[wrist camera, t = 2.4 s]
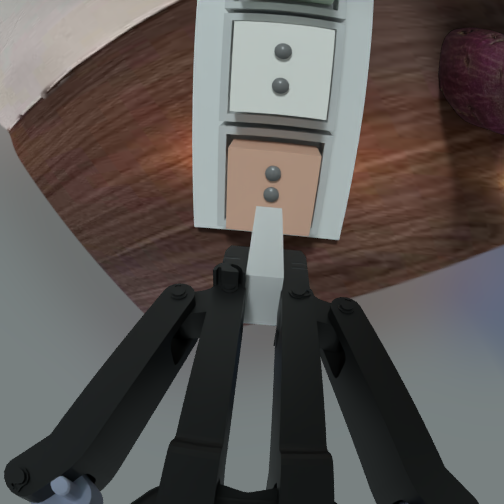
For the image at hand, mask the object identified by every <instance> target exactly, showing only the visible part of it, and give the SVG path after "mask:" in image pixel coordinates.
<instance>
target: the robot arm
mask: <svg viewBox="0 0 504 504" xmlns="http://www.w3.org/2000/svg"><path fill="white" fill-rule="evenodd" d="M243 323H249V324H260V325H271V326H276V324H277V328H276V334H275V340H274V346H275V360H274V385H273V408H272V427H271V445H270V446H271V447H270V462H269V474H268V480H267V487H266V490H262V491H256V492H249V493H247V492H242V491H239V490H236V489H233V488H230V487H227V486H224V473H225V464H226V456H227V449H228V441H229V433H230V426H231V418H232V410H233V402H234V395H235V387H236V379H237V372H238V364H239V356H240V348H241V340H242V332H243ZM198 338H200V339H199V343H198V347H197V350H196V355H195V359H194V362H193V366H192V370H191V375H190V378H189V383H188V386H187V391H186V395H185V399H184V403H183V407H182V412H181V416H180V420H179V424H178V428H177V433H176V436H175V438H174V439H173V440H172V441H171V442H170V444H169V448H168V451H167V455H166V459H165V463H164V468H163V472H162V477H161V481H160V486H158V487H155V488H153V489H151V490H149V491H148V492H146V493H145V494H144V495H142V496H141V497H139V498H138V499H136V500H135V501H134V502H132V503H131V504H337V503H336V502H334V473H333V460H332V456H331V454H330V453H329V452H328V450H327V446H326V427H325V410H324V397H323V383H322V370H321V360H320V357H321V359H322V362H323V364H324V367H325V369H326V372H327V374H328V377H329V380H330V382H331V385H332V387H333V390H334V392H335V395H336V398H337V400H338V403H339V406H340V408H341V411H342V413H343V416H344V419H345V421H346V424H347V427H348V429H349V432H350V435H351V437H352V440H353V443H354V445H355V448H356V451H357V454H358V456H359V459H360V462H361V464H362V467H363V470H364V473H365V475H366V478H367V481H368V484H369V487H370V489H371V492H372V494H373V497H374V499H375V501H376V503H377V504H479V503H478V502H477V500H476V499H475V498H474V496H473V495H472V494H471V493H470V492H469V491H468V490H467V489H465V487H464V486H463V485H462V484H461V483H460V482H459V481H458V480H457V479H456V478H455V477H454V476H453V475H452V474H451V473H450V472H449V471H448V470H447V469H446V468H445V467H444V464H443V462H442V460H441V458H440V456H439V453H438V451H437V449H436V447H435V445H434V443H433V440H432V438H431V436H430V434H429V432H428V430H427V428H426V426H425V424H424V422H423V420H422V418H421V416H420V414H419V412H418V410H417V408H416V406H415V404H414V402H413V400H412V398H411V396H410V395H409V393H408V390H407V389H406V387H405V385H404V383H403V381H402V380H401V377H400V376H399V374H398V372H397V370H396V368H395V366H394V364H393V363H392V361H391V359H390V357H389V356H388V354H387V352H386V350H385V348H384V346H383V345H382V343H381V341H380V339H379V338H378V336H377V334H376V332H375V331H374V329H373V327H372V325H371V324H370V322H369V320H368V319H367V317H366V315H365V314H364V312H363V310H362V309H361V307H360V305H359V304H358V303H357V302H355V301H354V300H352V299H349V298H346V297H340V298H336V299H334V300H333V301H332V303H329V302H325V301H323V300H320V299H318V298H317V297H315V296H314V294H313V292H312V290H311V289H310V287H309V279H308V270H307V262H306V257H305V255H304V254H303V253H302V252H301V251H296V250H285V249H283V218H282V208H273V207H261V206H256V211H255V218H254V224H253V231H252V237H251V244H250V247H244V246H233V245H231V246H230V247H229V248H228V249H227V250H226V252H225V256H224V259H223V263H220V264H218V265H217V266H215V268H214V269H213V287H212V288H210V289H208V290H204V291H197V292H194V289H193V288H192V287H191V286H189V285H187V284H174V285H171V286H169V287H168V288H166V289H165V290H164V291H163V292H162V294H161V295H160V296H159V297H158V298H157V300H156V301H155V302H154V303H153V304H152V306H151V307H150V308H149V309H148V310H147V312H146V313H145V314H144V315H143V316H142V318H141V319H140V320H139V321H138V322H137V324H136V325H135V326H134V327H133V329H132V330H131V331H130V332H129V333H128V335H127V336H126V338H124V340H123V341H122V342H121V343H120V345H119V346H118V347H117V348H116V350H115V351H114V352H113V353H112V355H111V356H110V357H109V358H108V360H107V361H106V362H105V363H104V365H103V366H102V367H101V369H100V370H99V371H98V372H97V374H96V375H95V376H94V378H93V379H92V380H91V381H90V383H89V384H88V385H87V386H86V388H85V389H84V390H83V392H82V393H81V394H80V396H79V397H78V398H77V399H76V401H75V402H74V404H73V405H72V406H71V408H70V409H69V410H68V412H67V413H66V414H65V415H64V417H63V418H62V419H61V421H60V422H59V424H58V425H57V426H56V428H55V429H54V430H53V432H52V433H51V434H50V435H49V436H47V437H46V438H44V439H43V440H41V441H40V442H38V443H37V444H35V445H34V446H32V447H31V448H29V449H28V450H26V451H25V452H23V453H22V454H20V455H19V456H17V457H15V458H14V459H12V460H11V461H10V462H9V463H8V464H7V466H6V468H5V471H4V479H5V482H6V485H7V486H8V488H9V489H10V490H11V492H13V493H14V494H16V495H18V496H19V497H21V498H24V499H25V500H28V501H29V502H31V503H32V504H103V497H102V494H101V492H100V491H101V490H102V489H103V488H104V487H105V486H106V485H107V484H108V483H109V482H110V481H111V480H112V478H113V477H114V476H115V474H116V473H117V471H118V470H119V468H120V467H121V465H122V463H123V462H124V460H125V458H126V457H127V455H128V454H129V452H130V450H131V449H132V447H133V445H134V444H135V442H136V441H137V439H138V437H139V436H140V434H141V432H142V431H143V429H144V427H145V426H146V424H147V422H148V421H149V419H150V418H151V416H152V414H153V413H154V411H155V409H156V408H157V406H158V404H159V403H160V401H161V400H162V398H163V396H164V394H165V393H166V391H167V390H168V388H169V386H170V385H171V383H172V382H173V380H174V378H175V377H176V375H177V373H178V372H179V370H180V368H181V367H182V365H183V363H184V362H185V360H186V359H187V357H188V355H189V354H190V352H191V350H192V349H193V347H194V346H195V344H196V342H197V340H198Z"/></svg>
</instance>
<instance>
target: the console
mask: <svg viewBox="0 0 504 504" xmlns="http://www.w3.org/2000/svg"><path fill="white" fill-rule="evenodd" d="M373 2H374V0H334V2H333V3H332V4H331V5H330V6H329V5H323V4H316V3H309V2H301V1H292V0H197V13H196V28H195V47H194V72H193V124H192V150H193V203H194V227H204V228H216V229H226V206H227V167H228V147H229V146H230V144H231V143H232V141H233V140H234V139H246V140H260V141H272V142H283V143H293V144H302V145H310V146H317V148H318V150H319V152H320V154H321V156H322V157H321V164H320V171H319V177H318V184H317V190H316V197H315V203H314V209H313V215H312V221H311V227H310V233H309V236H304V237H314V238H324V239H334V240H339V238H340V233H341V229H342V224H343V220H344V215H345V211H346V206H347V201H348V196H349V191H350V186H351V181H352V176H353V170H354V165H355V159H356V153H357V148H358V142H359V135H360V129H361V122H362V116H363V108H364V101H365V93H366V85H367V77H368V68H369V58H370V47H371V35H372V20H373ZM234 21H252V22H271V23H284V24H294V25H303V26H311V27H318V28H324V29H330V30H335V40H334V52H333V63H332V73H331V83H330V93H329V102H328V110H327V118H326V120H322V119H314V118H307V117H298V116H289V115H279V114H267V113H253V112H236V111H230V90H231V70H232V52H233V36H234ZM227 230H234V229H227ZM239 231H246V230H239ZM250 232H252V231H250ZM283 235H289V234H283ZM294 236H299V235H294Z"/></svg>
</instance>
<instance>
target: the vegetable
mask: <svg viewBox="0 0 504 504" xmlns="http://www.w3.org/2000/svg"><path fill="white" fill-rule="evenodd" d="M438 74H439V79H440V89H441V90H442V91H443V95H444V96H445V98H446V100H447V101H448V102H449V104H450V105H451V106H452V108H453V109H454V110H455V111H456V113H457V114H458V115H459V116H460V117H461V118H462V119H463V120H465V121H466V122H469V123H471V124H473V125H476V126H478V127H482V128H485V129H488V130H491V131H493V132H496V133H499V134H502V135H504V35H503V34H500V33H497V32H494V31H491V30H486V29H480V28H461V29H455V30H453V31H451V32H449V34H448V35H447V36H446V38H445V39H444V42H443V44H442V48H441V55H440V65H439V73H438Z"/></svg>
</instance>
